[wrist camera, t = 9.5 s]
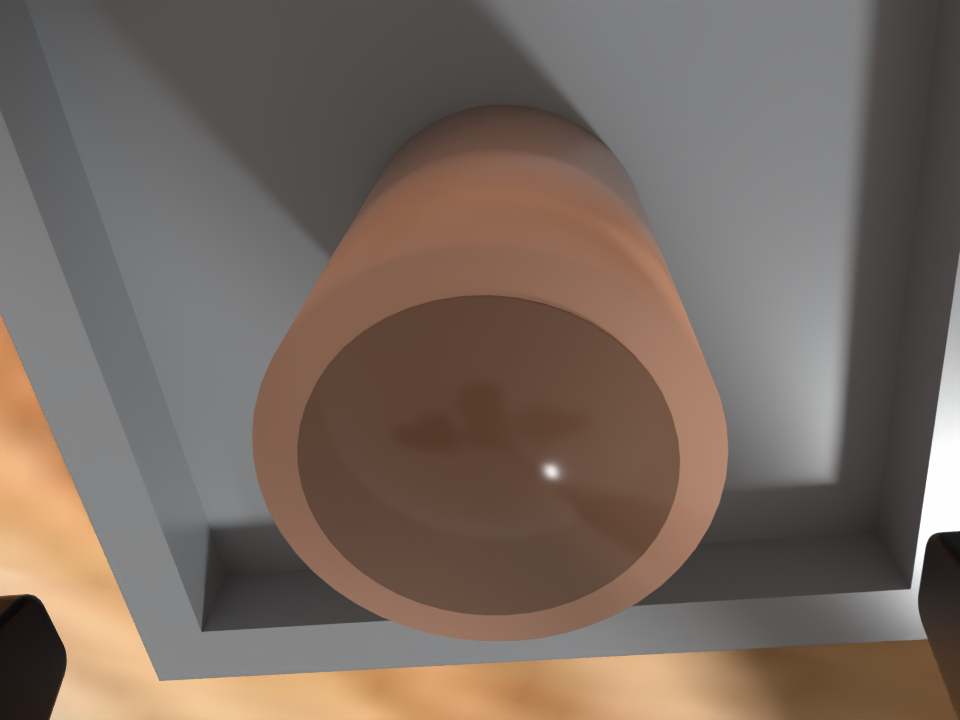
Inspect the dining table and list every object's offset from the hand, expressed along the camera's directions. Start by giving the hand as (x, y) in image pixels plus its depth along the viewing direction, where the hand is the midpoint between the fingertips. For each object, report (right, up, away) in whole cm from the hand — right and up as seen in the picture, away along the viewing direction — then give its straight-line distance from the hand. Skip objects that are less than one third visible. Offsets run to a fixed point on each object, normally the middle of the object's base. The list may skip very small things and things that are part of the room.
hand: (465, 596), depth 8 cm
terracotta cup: (+1, +5, +9) cm, 10 cm away
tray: (+1, +5, +10) cm, 11 cm away
